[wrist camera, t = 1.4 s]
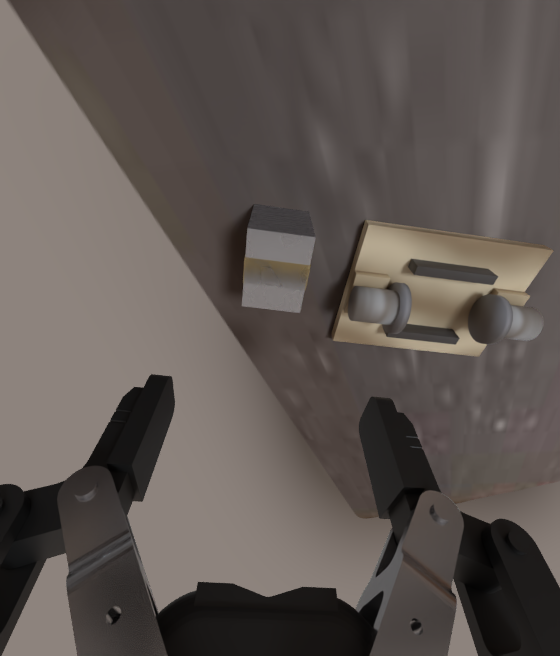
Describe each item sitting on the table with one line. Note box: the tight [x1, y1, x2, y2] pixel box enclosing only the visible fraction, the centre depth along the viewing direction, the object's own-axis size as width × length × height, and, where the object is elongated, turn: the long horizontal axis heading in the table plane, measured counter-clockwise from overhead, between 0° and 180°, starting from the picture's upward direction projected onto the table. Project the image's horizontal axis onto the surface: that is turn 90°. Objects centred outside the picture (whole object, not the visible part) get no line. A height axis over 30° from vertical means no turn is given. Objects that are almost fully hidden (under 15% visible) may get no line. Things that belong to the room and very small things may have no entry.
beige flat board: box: [331, 220, 554, 357], centre depth 27 cm, size 12×16×6 cm
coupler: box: [242, 204, 316, 313], centre depth 24 cm, size 6×5×6 cm
